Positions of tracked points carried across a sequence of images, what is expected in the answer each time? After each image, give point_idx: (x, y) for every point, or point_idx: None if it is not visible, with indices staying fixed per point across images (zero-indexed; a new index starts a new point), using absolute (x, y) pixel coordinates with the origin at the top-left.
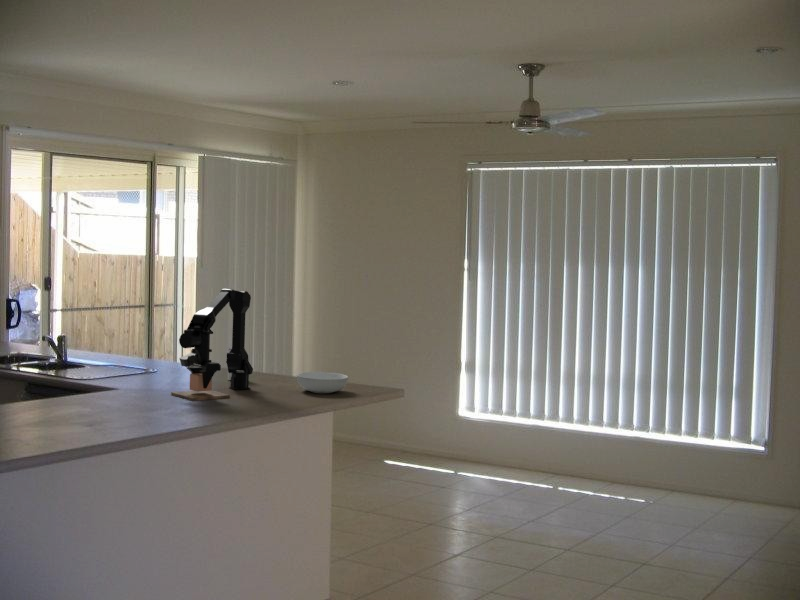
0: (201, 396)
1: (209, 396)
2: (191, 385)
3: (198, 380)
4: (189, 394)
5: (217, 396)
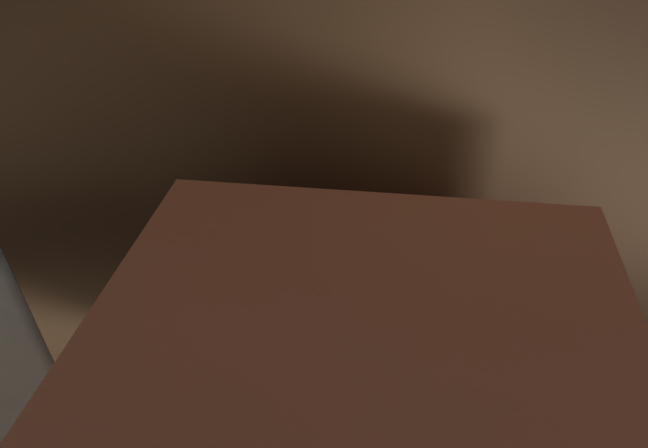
0: (37, 118)
1: (19, 231)
2: (510, 281)
3: (22, 433)
4: (402, 45)
5: (42, 327)
